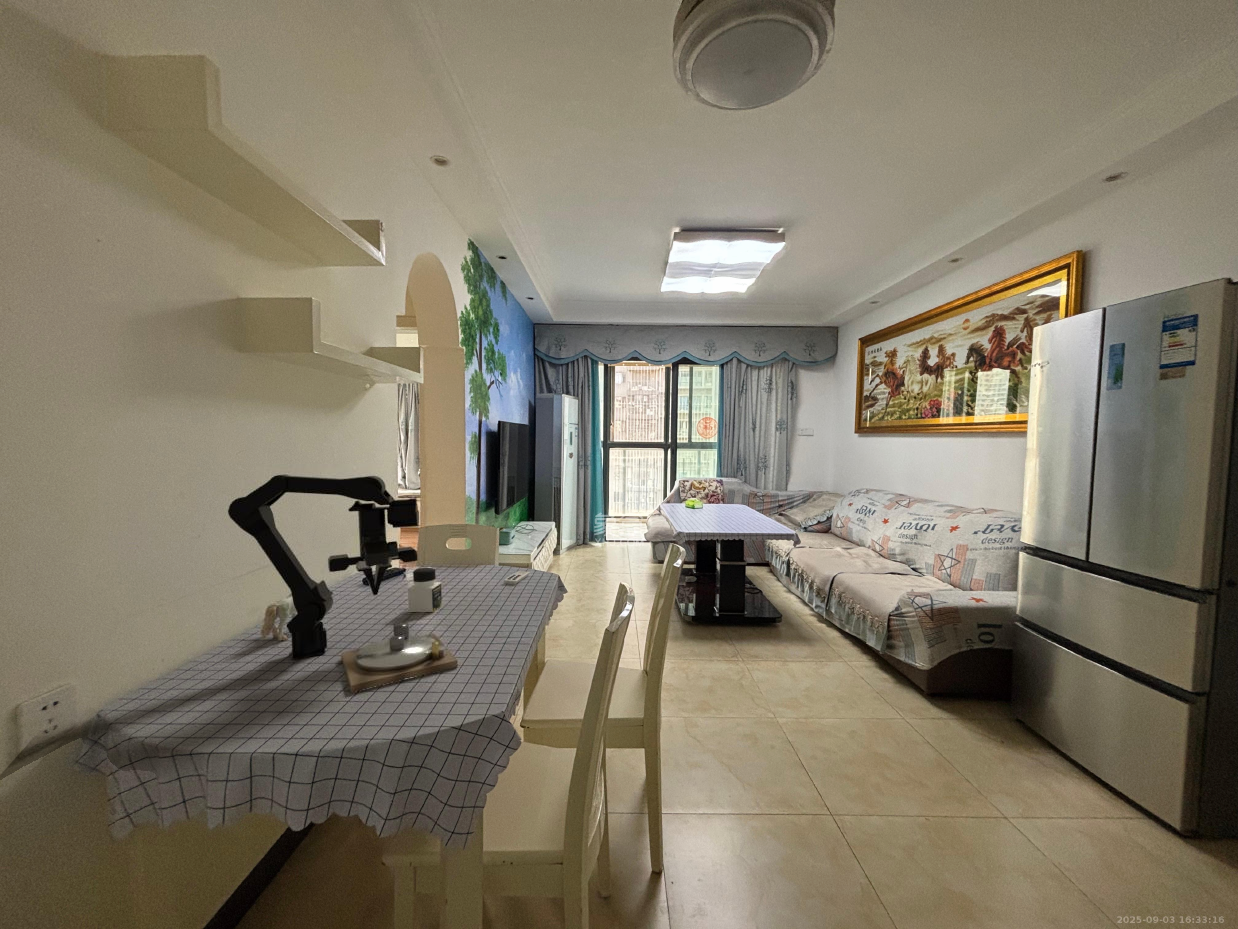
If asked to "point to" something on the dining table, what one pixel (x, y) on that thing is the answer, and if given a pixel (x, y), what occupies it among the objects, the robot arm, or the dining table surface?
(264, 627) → the unicorn figurine
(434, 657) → the dowel
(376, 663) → the flange plate
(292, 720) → the dining table surface
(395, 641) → the post
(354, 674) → the base board
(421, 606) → the medicine bottle
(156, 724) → the dining table surface
